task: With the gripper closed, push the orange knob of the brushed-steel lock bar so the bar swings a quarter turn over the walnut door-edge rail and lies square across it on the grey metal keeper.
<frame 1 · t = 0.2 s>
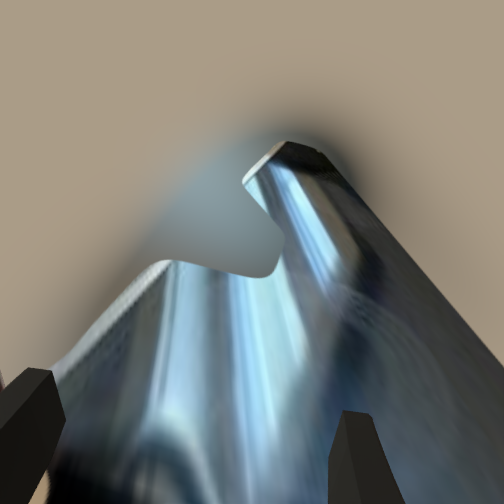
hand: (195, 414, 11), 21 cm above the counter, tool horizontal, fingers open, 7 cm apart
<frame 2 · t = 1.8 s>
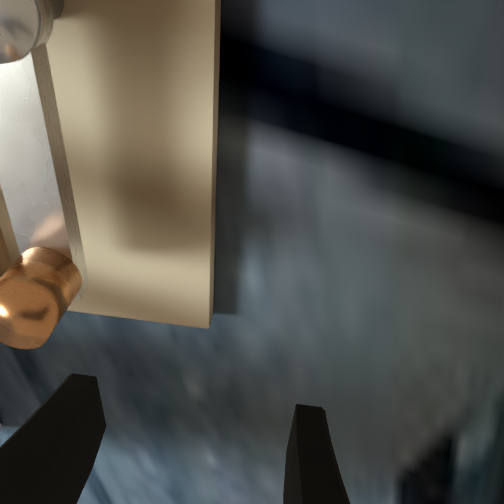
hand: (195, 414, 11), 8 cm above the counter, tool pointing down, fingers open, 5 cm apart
lock bar: (9, 174, 12), point 5 cm above the counter, hinge at 0.0°
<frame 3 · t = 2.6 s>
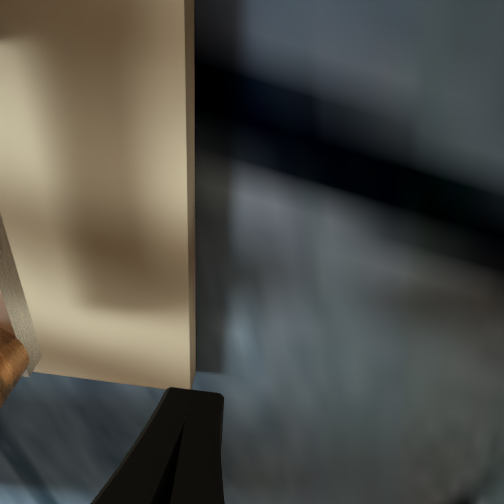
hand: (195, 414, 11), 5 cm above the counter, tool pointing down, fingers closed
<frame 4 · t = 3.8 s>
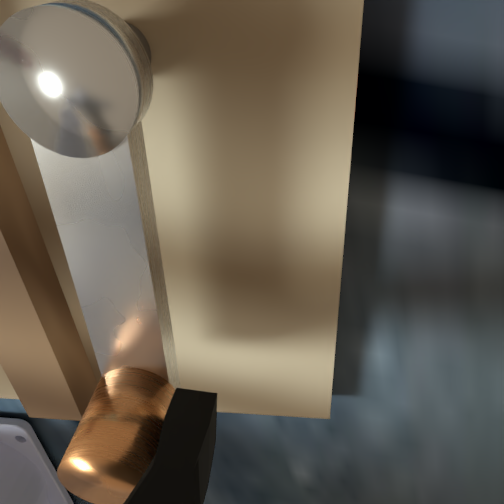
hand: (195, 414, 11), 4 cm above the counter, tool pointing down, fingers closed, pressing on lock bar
door board: (44, 223, 14), on the counter
lock bar: (97, 298, 9), point 5 cm above the counter, hinge at 2.6°, touching gripper
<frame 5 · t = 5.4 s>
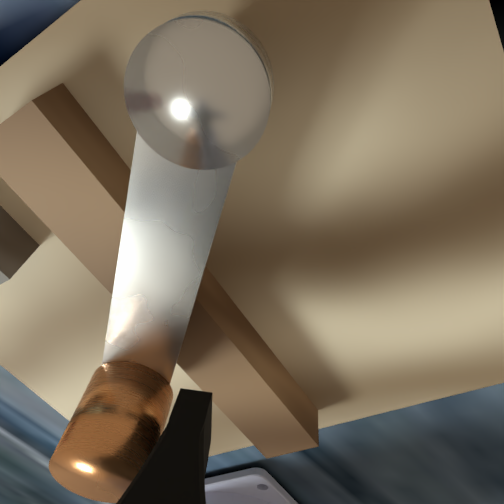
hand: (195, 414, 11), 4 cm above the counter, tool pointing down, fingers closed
door board: (210, 268, 14), on the counter
lock bar: (147, 300, 9), point 5 cm above the counter, hinge at 47.9°, touching gripper
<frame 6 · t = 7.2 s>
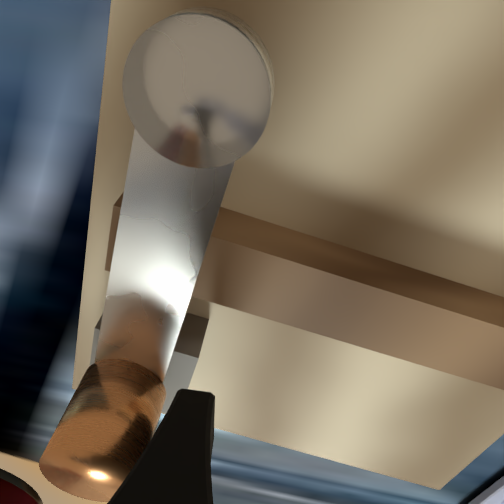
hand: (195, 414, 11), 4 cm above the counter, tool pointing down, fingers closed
door board: (358, 247, 13), on the counter
lock bar: (142, 298, 9), point 5 cm above the counter, hinge at 91.1°, touching gripper
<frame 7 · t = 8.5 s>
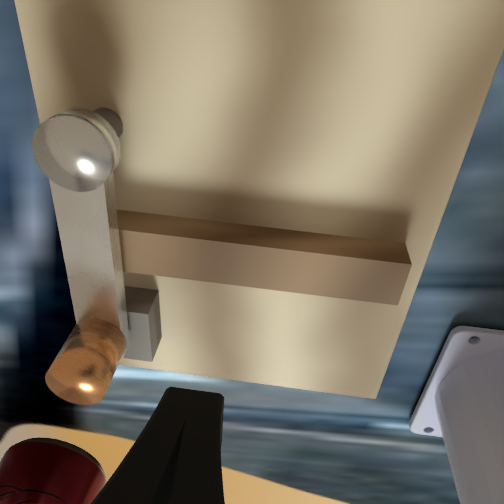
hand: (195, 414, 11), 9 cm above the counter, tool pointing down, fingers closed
door board: (242, 221, 19), on the counter
lock bar: (79, 271, 15), point 5 cm above the counter, hinge at 91.2°
soda can: (60, 460, 32), on the counter
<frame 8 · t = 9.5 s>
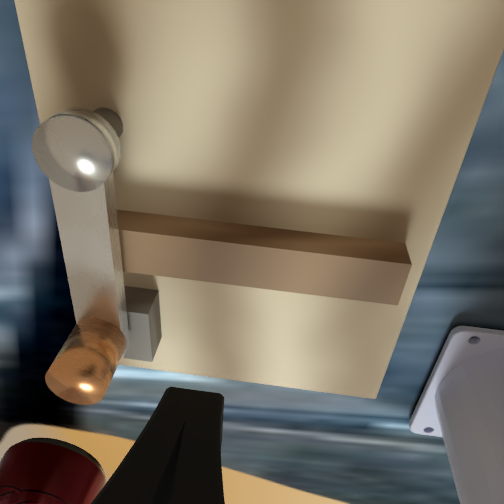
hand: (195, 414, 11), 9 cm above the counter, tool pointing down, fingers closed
door board: (242, 221, 19), on the counter
lock bar: (79, 271, 15), point 5 cm above the counter, hinge at 91.2°
soda can: (60, 460, 32), on the counter
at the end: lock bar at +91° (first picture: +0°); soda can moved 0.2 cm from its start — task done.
